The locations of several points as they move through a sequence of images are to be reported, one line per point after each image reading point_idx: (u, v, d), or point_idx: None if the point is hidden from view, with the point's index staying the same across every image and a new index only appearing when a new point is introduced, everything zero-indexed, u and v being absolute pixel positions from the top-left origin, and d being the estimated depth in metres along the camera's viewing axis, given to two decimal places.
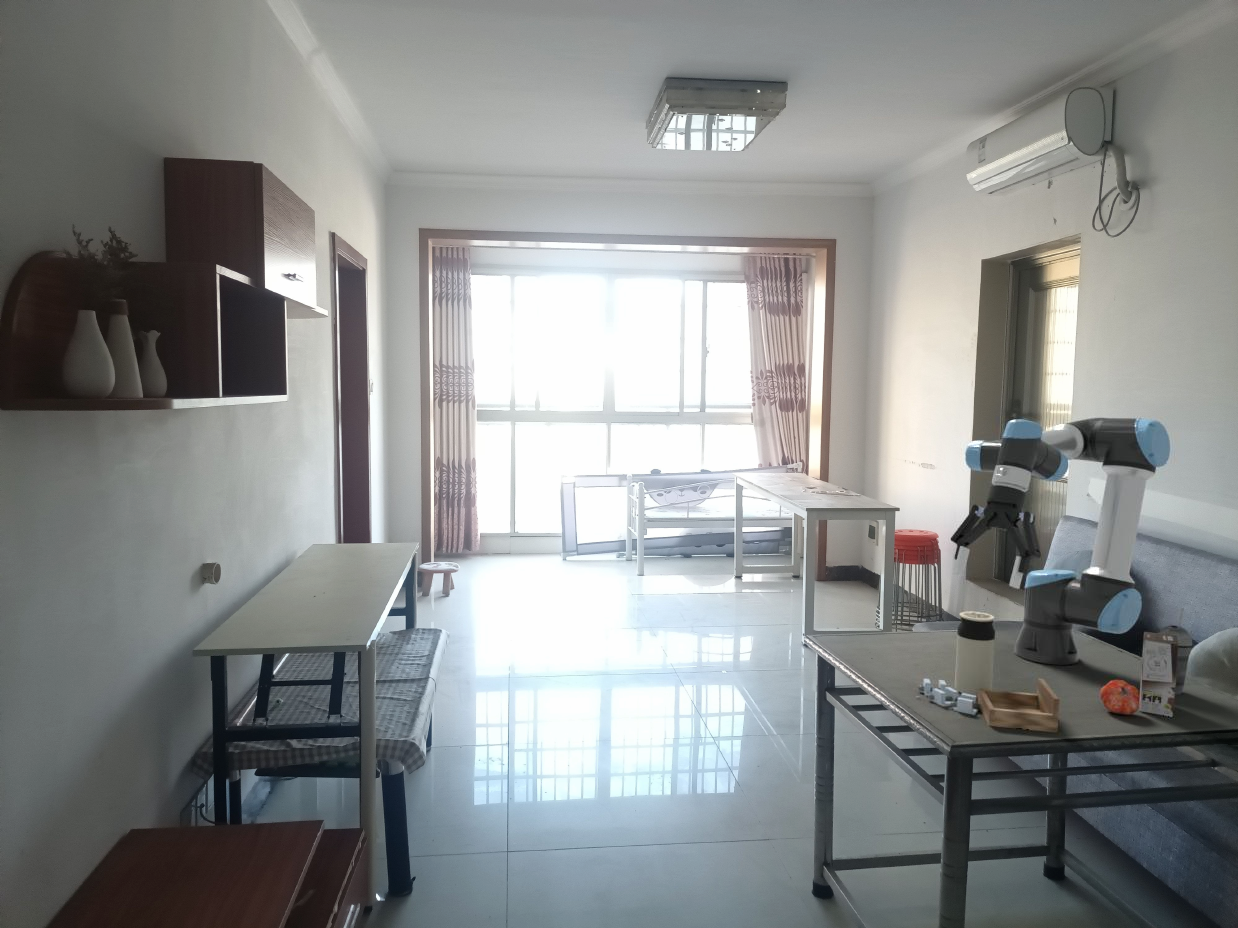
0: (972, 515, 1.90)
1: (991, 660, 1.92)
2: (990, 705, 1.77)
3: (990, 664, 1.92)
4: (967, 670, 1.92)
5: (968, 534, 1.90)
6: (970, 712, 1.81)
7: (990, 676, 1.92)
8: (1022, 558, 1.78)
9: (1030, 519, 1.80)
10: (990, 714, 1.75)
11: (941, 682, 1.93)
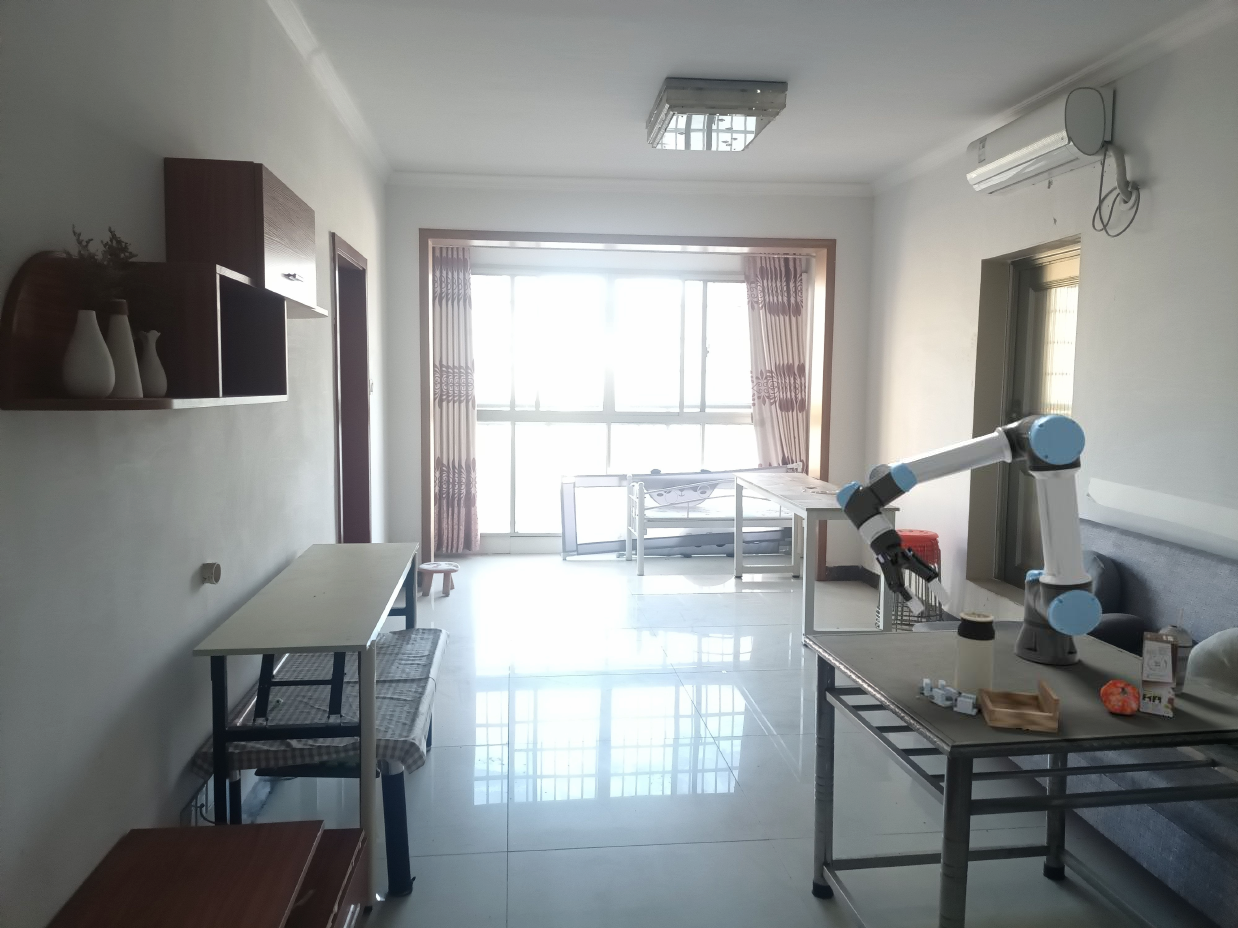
0: None
1: (991, 660, 1.92)
2: (990, 705, 1.77)
3: (990, 664, 1.92)
4: (967, 670, 1.92)
5: None
6: (970, 712, 1.81)
7: (990, 676, 1.92)
8: None
9: (880, 561, 2.04)
10: (990, 714, 1.75)
11: (941, 682, 1.93)
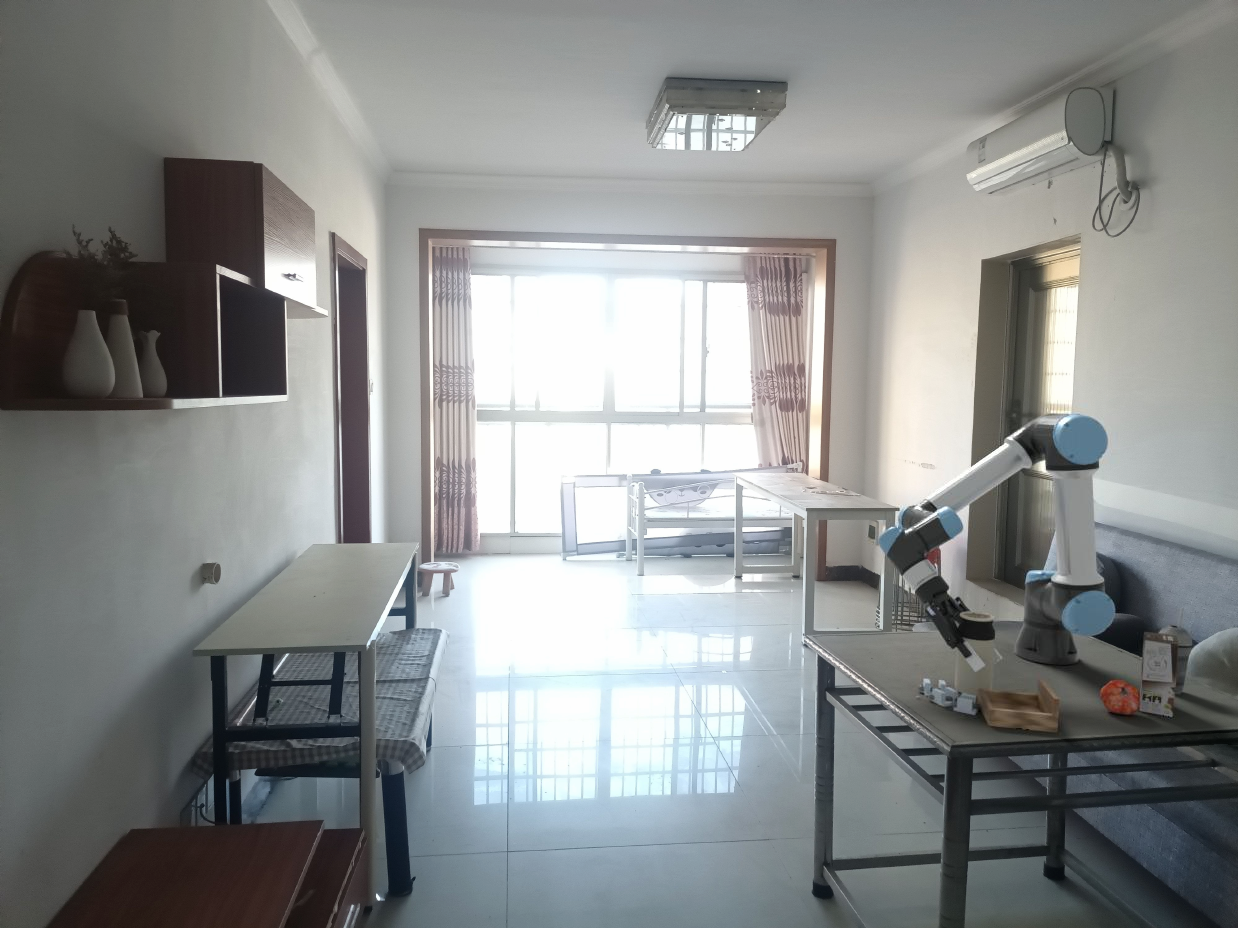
0: None
1: (991, 660, 1.92)
2: (990, 705, 1.77)
3: (990, 664, 1.92)
4: (967, 670, 1.92)
5: None
6: (970, 712, 1.81)
7: (990, 676, 1.92)
8: None
9: (931, 614, 1.95)
10: (990, 714, 1.75)
11: (941, 682, 1.93)
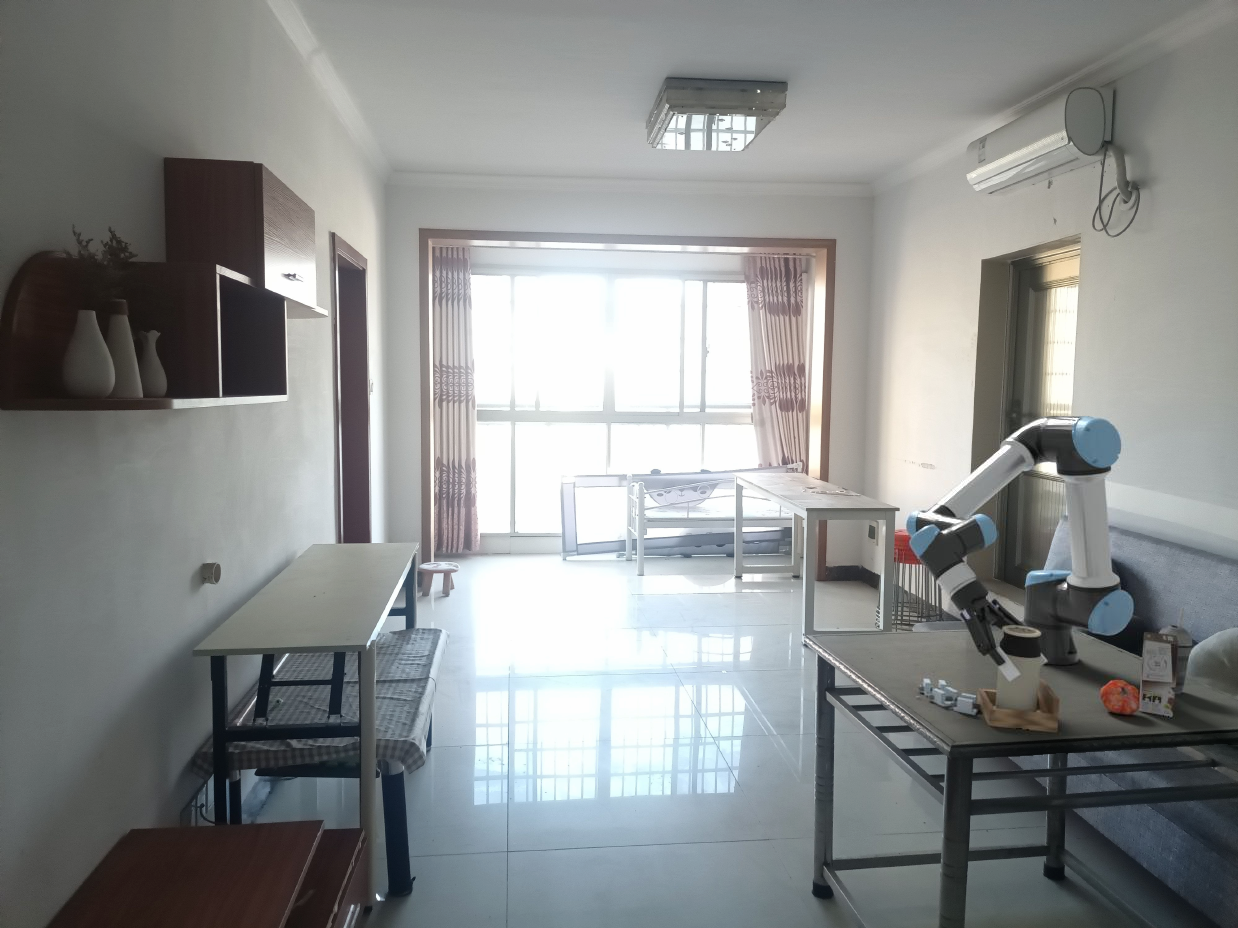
0: None
1: (1037, 679, 1.76)
2: (990, 705, 1.77)
3: (1036, 683, 1.76)
4: (1011, 689, 1.76)
5: None
6: (970, 712, 1.81)
7: (1035, 696, 1.76)
8: None
9: (966, 617, 1.80)
10: (990, 714, 1.75)
11: (941, 682, 1.93)
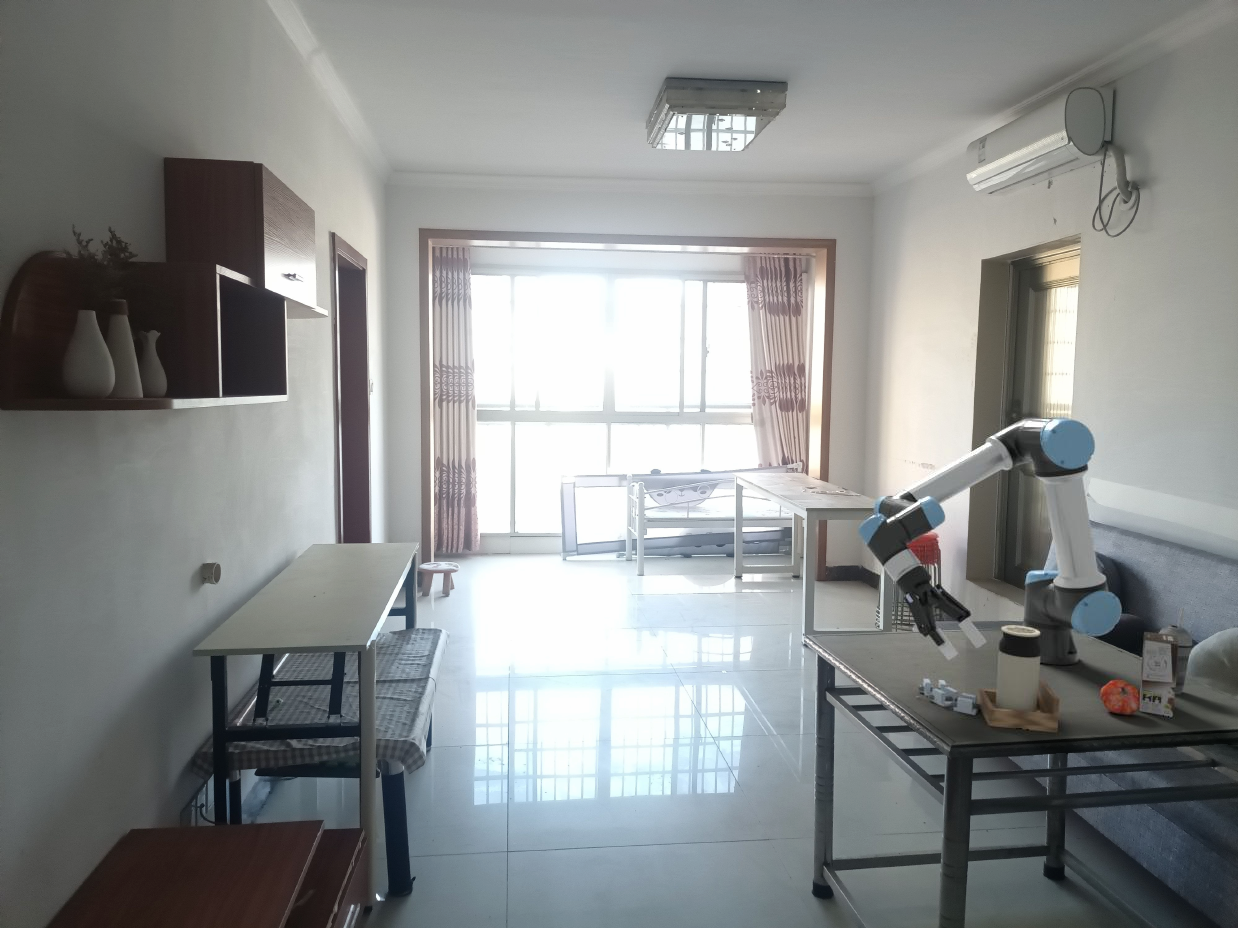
0: None
1: (1037, 678, 1.76)
2: (990, 705, 1.77)
3: (1035, 683, 1.76)
4: (1010, 689, 1.76)
5: None
6: (970, 712, 1.81)
7: (1035, 696, 1.76)
8: None
9: (909, 601, 1.90)
10: (990, 714, 1.75)
11: (941, 682, 1.93)
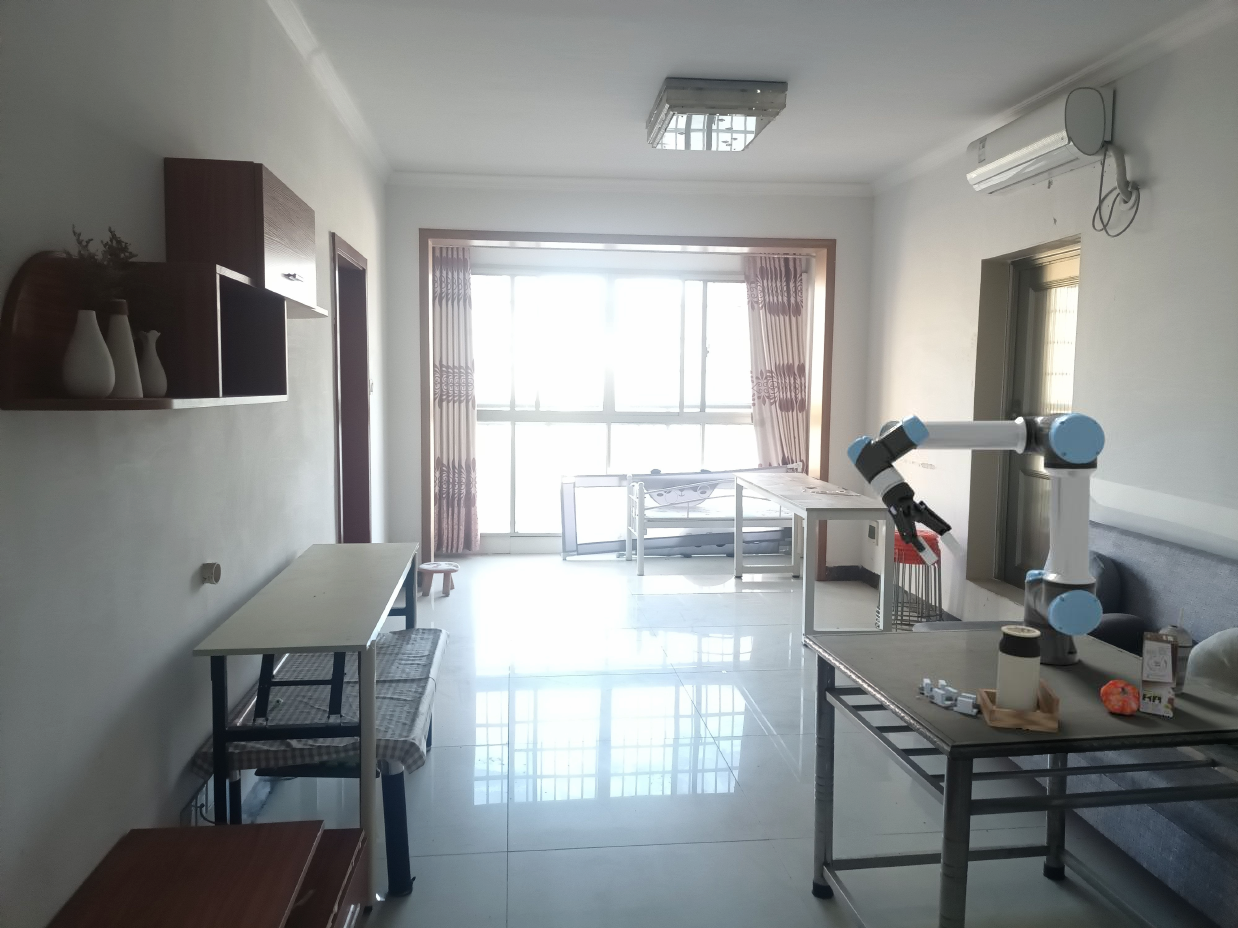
0: None
1: (1037, 679, 1.76)
2: (990, 705, 1.77)
3: (1035, 683, 1.76)
4: (1010, 689, 1.76)
5: None
6: (970, 712, 1.81)
7: (1035, 696, 1.76)
8: None
9: (892, 513, 2.03)
10: (990, 714, 1.75)
11: (941, 682, 1.93)
